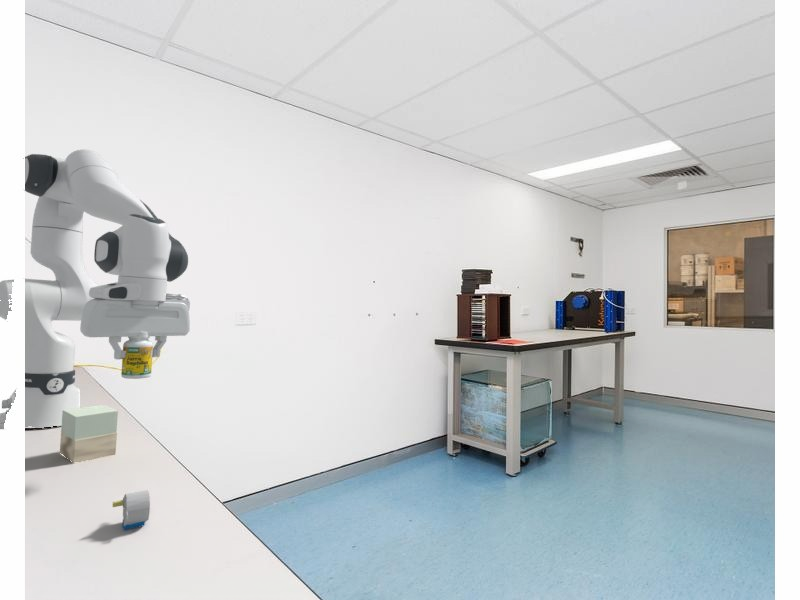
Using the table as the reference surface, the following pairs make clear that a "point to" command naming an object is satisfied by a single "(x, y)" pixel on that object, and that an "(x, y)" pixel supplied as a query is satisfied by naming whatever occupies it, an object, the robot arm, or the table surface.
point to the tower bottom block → (88, 447)
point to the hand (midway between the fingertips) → (137, 358)
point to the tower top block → (89, 422)
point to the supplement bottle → (137, 357)
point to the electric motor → (134, 509)
